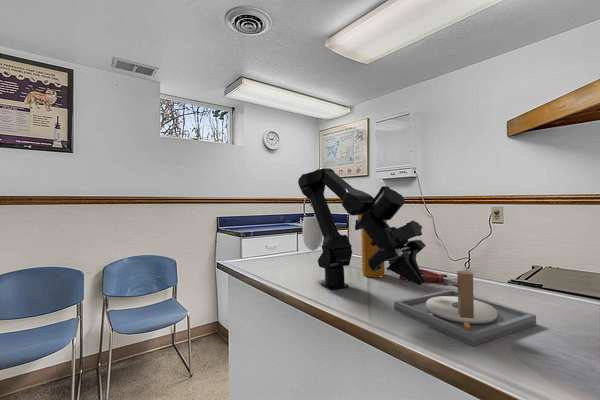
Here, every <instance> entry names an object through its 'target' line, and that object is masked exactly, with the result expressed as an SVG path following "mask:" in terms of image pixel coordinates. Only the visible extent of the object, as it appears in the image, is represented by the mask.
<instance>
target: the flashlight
mask: <svg viewBox="0 0 600 400" xmlns="http://www.w3.org/2000/svg"><path fill="white" fill-rule="evenodd" d="M362 216H363V215H357V220H359V219H360V218H361V217H362ZM385 221H386V223H387V224H388V222H387V221H388V220H385ZM360 230H361V233H360V234H361V274H362V273H363V274H362V275H363V276H364V275H365V276H364V277H366V276H368V277H367V278H381V277H380V276H383V277H385V262H383V263H382V264H381V265H380V266H381V269H380V270H377V271H374V272H373V271H372V270H371V268H370V267H369V266H368V259H369V258H370V257H371V256H372V255H373V254H374V253H375V252H376V251H377V250H378V249H379V248H378V247H377V246H372V245H371V244H370V243H371V242H372V240H371V238H370V237H369V236H368V234H367V233H366V232H365V231H364V229H360Z"/></svg>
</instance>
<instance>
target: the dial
mask: <svg viewBox="0 0 600 400" xmlns="http://www.w3.org/2000/svg"><path fill="white" fill-rule="evenodd" d="M456 275H457V277H456V279H458V286H457V291H458V297H454V296H440V297H434V298H430V299H428V300H427V302H426V308H427V310H428V311H429V312H430V313H432V314H434V315H436V316H438V317H440V318H443V319H446V320H450V321H455V322H460V323H464V322H465V323H469V324H485V323H490V322H493V321H495V320H496V319H497V310H496V309H495V308H494V307H492V306H490V305H488V304H486V303H483V302H481V301H477V300H473V296H474V274H473V273H472V272H471V271H469V270H457V273H456Z"/></svg>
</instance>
